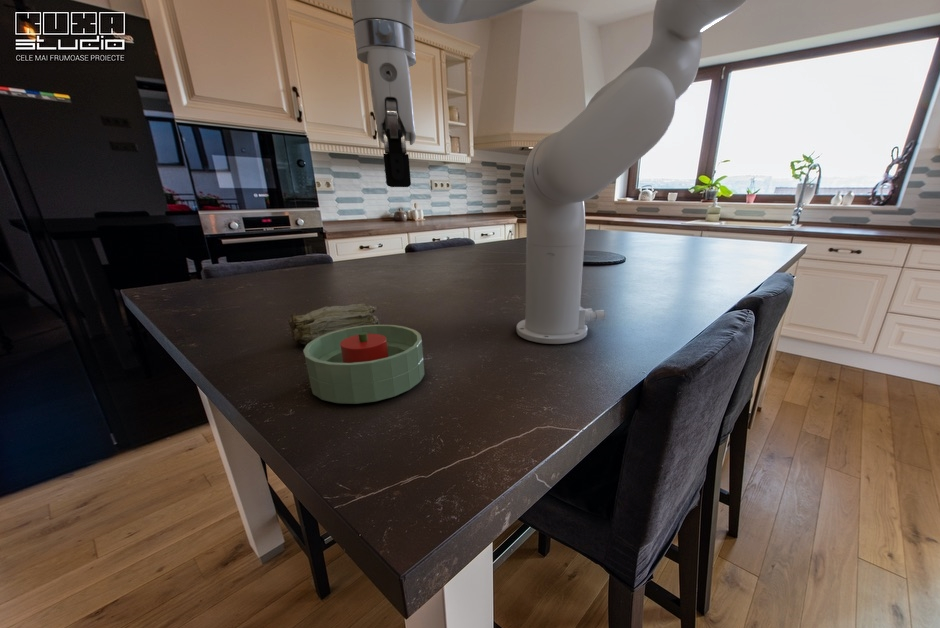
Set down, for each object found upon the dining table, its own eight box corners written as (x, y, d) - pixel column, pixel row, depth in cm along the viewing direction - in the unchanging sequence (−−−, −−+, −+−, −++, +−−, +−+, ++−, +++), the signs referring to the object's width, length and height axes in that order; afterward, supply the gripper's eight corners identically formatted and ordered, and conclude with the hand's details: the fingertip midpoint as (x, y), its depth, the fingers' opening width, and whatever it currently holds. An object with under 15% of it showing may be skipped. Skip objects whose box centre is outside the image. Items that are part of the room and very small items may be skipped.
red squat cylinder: (391, 366, 56) (386, 324, 53) (390, 384, 51) (384, 338, 48) (348, 370, 54) (342, 328, 52) (343, 389, 49) (335, 343, 47)
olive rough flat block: (300, 355, 61) (293, 322, 59) (287, 338, 68) (280, 308, 66) (390, 335, 69) (387, 305, 67) (370, 322, 76) (366, 295, 74)
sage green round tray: (422, 355, 61) (419, 321, 59) (427, 399, 48) (423, 357, 46) (322, 364, 57) (316, 329, 56) (299, 414, 45) (290, 370, 43)
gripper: (417, 25, 45) (428, 186, 51) (413, 68, 61) (422, 187, 67) (347, 18, 43) (367, 186, 49) (361, 64, 59) (376, 187, 65)
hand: (399, 186), depth 58 cm, fingers open, 9 cm apart
